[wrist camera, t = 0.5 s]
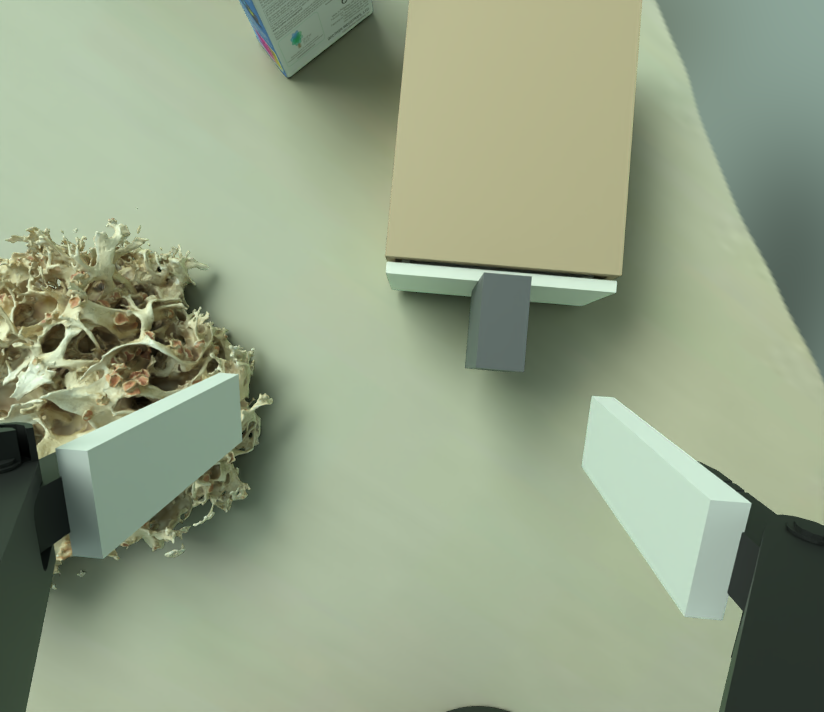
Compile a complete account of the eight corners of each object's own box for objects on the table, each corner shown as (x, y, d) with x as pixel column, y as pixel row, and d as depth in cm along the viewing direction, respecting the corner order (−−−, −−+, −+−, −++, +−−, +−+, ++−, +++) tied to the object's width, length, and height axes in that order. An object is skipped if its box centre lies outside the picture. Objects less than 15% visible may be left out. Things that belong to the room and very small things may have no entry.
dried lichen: (329, 460, 34) (284, 505, 23) (28, 641, 34) (-164, 775, 23) (176, 198, 35) (61, 117, 24) (-116, 373, 35) (-368, 375, 24)
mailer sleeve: (580, 294, 34) (621, 275, 27) (392, 278, 34) (385, 255, 27) (598, 65, 35) (643, -12, 28) (413, 52, 35) (411, -28, 28)
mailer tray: (576, 378, 33) (628, 381, 25) (385, 361, 33) (373, 358, 25) (600, 68, 34) (657, -28, 26) (413, 55, 34) (411, -45, 26)
